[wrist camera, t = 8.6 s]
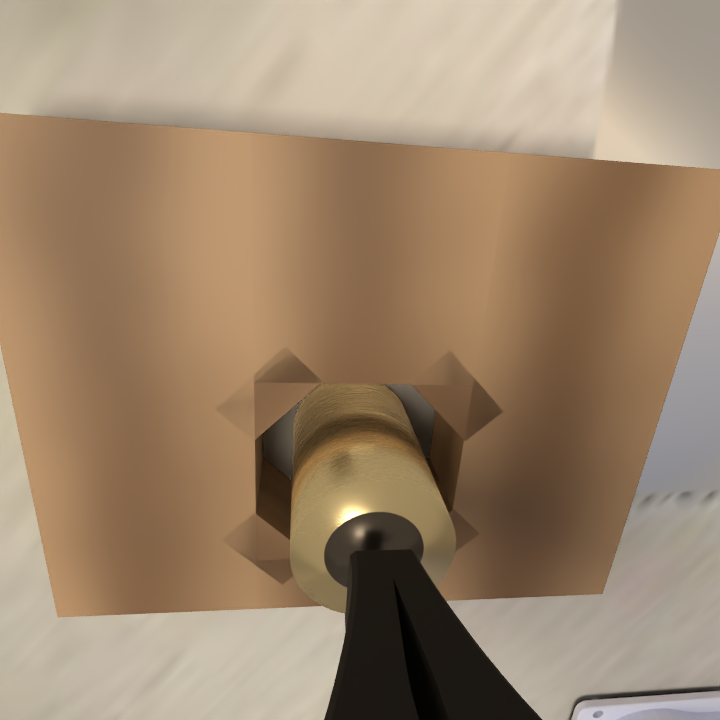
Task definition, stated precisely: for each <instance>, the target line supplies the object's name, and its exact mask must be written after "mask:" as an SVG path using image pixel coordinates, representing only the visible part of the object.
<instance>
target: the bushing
mask: <svg viewBox="0 0 720 720" xmlns="http://www.w3.org/2000/svg"><path fill="white" fill-rule="evenodd" d="M403 549H411V550H412V551H413V552H414V553H415V554H416V556H417V557H418V559H419V561H420V562H421V564H422V565H423V567H424V569H425V570H426V572H427V573H428V575H429V577H430V578H431V580H432V581H433V583H434V584H435V586H437V585H438V583H439V582H440V581H441V580H442V579H443V577H444V576H445V575H446V573H447V571H448V569H449V568H450V566H451V563H452V561H453V558H454V554H455V549H456V535H455V529H454V526H453V523H452V520H451V518H450V516H449V513H448V511H447V508H446V506H445V504H444V501H443V499H442V497H441V494H440V492H439V489H438V487H437V485H436V482H435V480H434V478H433V475H432V473H431V470H430V468H429V466H428V463H427V461H426V459H425V456H424V454H423V451H422V449H421V447H420V444H419V442H418V440H417V437H416V435H415V432H414V430H413V428H412V425H411V423H410V421H409V418H408V416H407V413H406V411H405V409H404V406H403V404H402V402H401V401H400V399H399V398H398V396H397V395H396V394H395V393H394V392H393V391H392V390H391V389H390V388H389V387H387V386H386V385H384V384H335V383H323V384H322V385H320V386H318V387H317V388H315V389H314V390H313V391H312V392H311V393H310V394H309V395H308V396H307V397H306V398H305V399H304V400H303V402H302V403H301V405H300V407H299V408H298V411H297V413H296V416H295V420H294V429H293V462H292V496H291V530H290V565H291V569H292V573H293V575H294V578H295V580H296V582H297V583H298V585H299V586H300V588H301V589H302V590H303V591H304V592H305V593H306V594H307V595H308V596H309V597H310V598H311V599H313V600H314V601H315V602H317V603H319V604H320V605H322V606H324V607H326V608H329V609H331V610H334V611H337V612H341V613H346V600H347V586H348V573H349V560H350V555H351V554H352V553H353V552H355V551H370V550H403Z"/></svg>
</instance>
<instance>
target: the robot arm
mask: <svg viewBox="0 0 720 720" xmlns="http://www.w3.org/2000/svg"><path fill="white" fill-rule="evenodd" d="M345 626H346V633H345V639H344V644H343V649H342V653H341V657H340V661H339V666H338V670H337V674H336V679H335V683H334V687H333V690H332V694H331V698H330V702H329V705H328V709H327V712H326V716H325V719H324V720H542V719H541V718H540V717H539V716H538V715H537V713H536V712H535V711H534V710H533V709H532V708H531V707H530V706H529V705H528V704H527V703H526V702H525V700H524V699H523V698H522V697H521V696H520V695H519V694H518V693H517V691H516V690H515V689H514V688H513V687H512V686H511V685H510V683H509V682H508V681H507V680H506V679H505V678H504V676H503V675H502V674H501V673H500V671H499V670H498V669H497V668H496V667H495V665H494V664H493V663H492V662H491V661H490V659H489V658H488V657H487V656H486V654H485V653H484V652H483V651H482V649H481V648H480V647H479V645H478V644H477V643H476V642H475V640H474V639H473V638H472V636H471V635H470V634H469V632H468V631H467V630H466V628H465V627H464V625H463V624H462V623H461V621H460V620H459V619H458V617H457V616H456V615H455V613H454V612H453V610H452V609H451V608H450V606H449V605H448V603H447V602H446V601H445V599H444V598H443V596H442V595H441V593H440V592H439V590H438V589H437V587H436V586H435V584H434V583H433V581H432V580H431V578H430V577H429V575H428V573H427V572H426V570H425V569H424V567H423V565H422V564H421V562H420V561H419V559H418V557H417V556H416V554H415V553H414V552H413V551H412V550H411V549H403V550H370V551H355V552H353V553H352V554H351V555H350V560H349V573H348V586H347V600H346V613H345ZM571 720H720V691H709V692H695V693H682V694H668V695H654V696H640V697H626V698H613V699H599V700H586V701H582V702H580V703H578V704H577V706H576V707H575V710H574V713H573V716H572V719H571Z"/></svg>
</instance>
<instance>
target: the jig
mask: <svg viewBox="0 0 720 720" xmlns="http://www.w3.org/2000/svg"><path fill="white" fill-rule="evenodd" d="M719 232H720V169H707V168H695V167H681V166H669V165H656V164H643V163H630V162H618V161H605V160H593V159H580V158H567V157H554V156H542V155H529V154H516V153H503V152H491V151H478V150H465V149H452V148H440V147H427V146H414V145H402V144H389V143H376V142H363V141H351V140H338V139H325V138H312V137H300V136H287V135H274V134H261V133H249V132H236V131H223V130H210V129H198V128H185V127H172V126H159V125H147V124H134V123H121V122H108V121H96V120H83V119H70V118H57V117H45V116H32V115H19V114H6V113H0V345H1V350H2V355H3V359H4V364H5V369H6V374H7V378H8V383H9V388H10V393H11V397H12V402H13V407H14V412H15V416H16V421H17V426H18V431H19V435H20V440H21V445H22V450H23V454H24V459H25V464H26V469H27V473H28V478H29V483H30V488H31V492H32V497H33V502H34V507H35V511H36V516H37V521H38V526H39V530H40V535H41V540H42V545H43V549H44V554H45V559H46V564H47V568H48V573H49V578H50V583H51V587H52V592H53V597H54V601H55V606H56V611H57V616H58V617H75V616H99V615H122V614H145V613H169V612H192V611H215V610H238V609H262V608H285V607H308V606H322V605H320V604H319V603H317V602H315V601H314V600H313V599H311V598H310V597H309V596H308V595H307V594H306V593H305V592H304V591H303V590H302V589H301V588H300V586H299V585H298V583H297V582H296V580H295V578H294V575H293V573H292V569H291V565H290V530H291V496H292V482H291V481H290V480H289V479H288V478H287V477H285V476H284V475H283V474H282V473H281V472H279V471H278V470H277V469H276V468H275V467H273V466H272V465H271V464H270V463H269V462H267V461H266V460H265V459H264V458H263V433H264V432H265V431H266V430H267V429H268V428H269V427H271V426H272V425H273V424H274V423H275V422H276V421H278V420H279V419H280V418H281V417H282V416H283V415H284V414H286V413H287V412H288V411H289V410H290V409H291V408H293V407H294V406H295V405H296V404H297V403H298V402H300V401H301V400H302V399H303V398H304V397H305V396H306V395H308V394H309V393H310V392H311V391H312V390H313V389H315V388H316V387H317V386H318V385H319V384H320V383H335V384H403V385H413V386H414V387H415V389H416V390H417V391H418V392H419V393H420V394H421V395H422V396H423V397H424V398H425V399H426V400H427V401H428V402H429V403H430V404H431V405H432V407H433V408H434V409H435V410H436V412H435V419H434V426H433V434H432V441H431V448H430V456H429V458H427V459H426V461H427V463H428V466H429V468H430V470H431V473H432V475H433V478H434V480H435V482H436V485H437V487H438V489H439V492H440V494H441V497H442V499H443V501H444V504H445V506H446V508H447V511H448V513H449V516H450V518H451V520H452V523H453V526H454V529H455V535H456V549H455V554H454V558H453V561H452V563H451V566H450V568H449V569H448V571H447V573H446V575H445V576H444V577H443V579H442V580H441V581H440V582H439V583H438V585H437V586H436V587H437V589H438V590H439V592H440V593H441V595H442V596H443V598H444V599H445V601H448V600H471V599H495V598H518V597H541V596H565V595H588V594H603V591H604V587H605V584H606V581H607V578H608V575H609V572H610V569H611V566H612V563H613V560H614V557H615V553H616V550H617V547H618V544H619V541H620V538H621V535H622V532H623V529H624V526H625V523H626V520H627V516H628V513H629V510H630V507H631V504H632V501H633V498H634V495H635V492H636V488H637V486H638V483H639V479H640V476H641V473H642V470H643V467H644V464H645V460H646V458H647V455H648V452H649V448H650V445H651V442H652V439H653V436H654V433H655V430H656V427H657V423H658V421H659V418H660V414H661V412H662V408H663V405H664V402H665V399H666V396H667V393H668V390H669V387H670V384H671V381H672V377H673V374H674V371H675V368H676V365H677V362H678V359H679V356H680V353H681V350H682V347H683V343H684V340H685V337H686V334H687V331H688V328H689V325H690V322H691V319H692V316H693V313H694V310H695V306H696V303H697V300H698V297H699V294H700V291H701V288H702V285H703V282H704V279H705V276H706V273H707V269H708V266H709V263H710V260H711V257H712V254H713V251H714V248H715V245H716V242H717V239H718V236H719Z"/></svg>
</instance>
